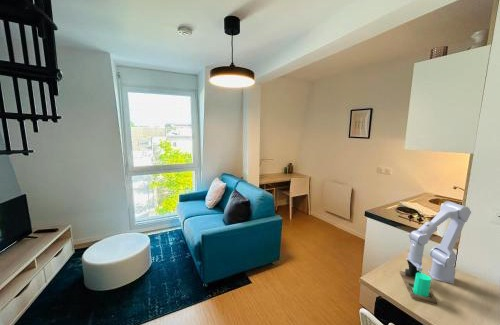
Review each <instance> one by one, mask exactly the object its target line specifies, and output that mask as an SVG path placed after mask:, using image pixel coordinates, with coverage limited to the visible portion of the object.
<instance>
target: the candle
mask: <svg viewBox="0 0 500 325" xmlns="http://www.w3.org/2000/svg"><path fill="white" fill-rule="evenodd" d="M431 284H432V277H430V276H429V275H427V274H425V273H423V272H421V273H418V272H417V273H416V277H415V283H414V287H413V289H412V292H413V294H416V295H420V296H424V297H428V298H429V290H430V291H431V289H430V288H431Z"/></svg>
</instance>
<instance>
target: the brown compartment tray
mask: <svg viewBox="0 0 500 325" xmlns="http://www.w3.org/2000/svg"><path fill="white" fill-rule="evenodd" d="M418 273H422V271H419V272H418ZM399 274H400V276H401V278H402V281H403V283H404V285H405V287H406V289H407V291H408V294H409V295H410V297H411V299H412V300H414V301H415V300H416V301H420V302H423V303H427V304H432V305H435V306H438V300H437V299H436V298H435V295H434V294H433V293H432V291H431V289H430V290H429V295H428V297H424V296H420V295H416V294H414V293H413V289H412V288H414V283H415V277H414V276H411V270H410V269H409V268H405V269H404V271H402V270H400V271H399ZM411 287H412V288H411Z"/></svg>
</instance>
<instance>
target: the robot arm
mask: <svg viewBox="0 0 500 325" xmlns="http://www.w3.org/2000/svg"><path fill="white" fill-rule="evenodd" d="M471 214H472V211H471V209H470V208H469V207H468V206H466V205H462V204H459V203H456V202H452V201H450V200H446V201H445V202H443V203H442V205H441V206H440V211H439V212H438V213H437V214H436V215H435V216H434V217H433V218H432V219H431V220H430V221H425V223H423V224H422V225H421V226H420V227H419V228H418V229H416V230H412V231H411V232H410V233H409V235H408V237H409V239H410V245H409V246H410V247H409V252H408V254H407V256H408V257H405V259H406V262H407V265H408V269H410V270H411V276H414V277H416V273H417V272H423V256H424V250H425V245H427V244H428V243H429V240H430V239H431V237H432V235H433V234H435V233H436V232H437V231H438V227H439V226H440V225H442V224H443V223H444V222H446V221H447V220H448V219H450V221H449V224H448V226H447V229H446V231H445V233H444V235H443V237H442V239H441V241H440V243H439V244H434V245H433V247H432V248H431V249H430V250H429V255H430V256H429V257H431V259H432V261H431V268H430V269H427V272H428V274H429V275H430V276H431V279H433V280H435V281H440V282H445V283H449V284H455V282H454V281H455V276H456V268H455V266H454V265H456V259H457V254H456V252H455V251H454V247H455V245H456V243H457V241H458V238H459V237H460V235H461V232H462V230H463V229H464V226H465V224H466V223H468V220H469V218H470V216H471Z"/></svg>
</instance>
